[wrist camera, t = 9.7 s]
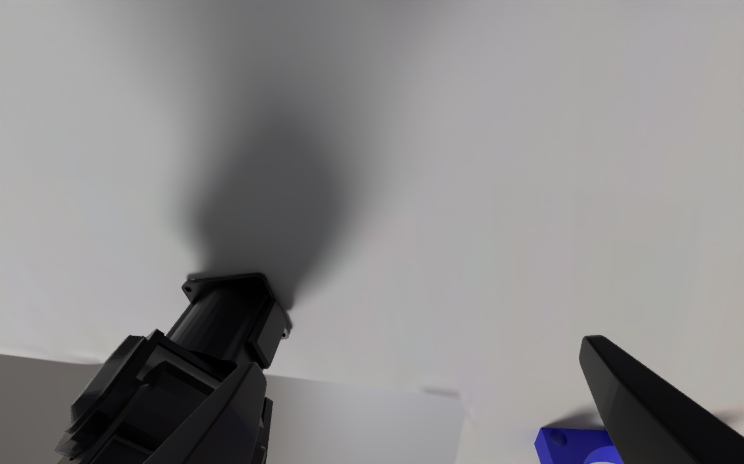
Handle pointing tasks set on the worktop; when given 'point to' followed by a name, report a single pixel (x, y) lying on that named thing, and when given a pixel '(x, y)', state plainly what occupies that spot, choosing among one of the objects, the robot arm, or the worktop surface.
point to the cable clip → (575, 446)
